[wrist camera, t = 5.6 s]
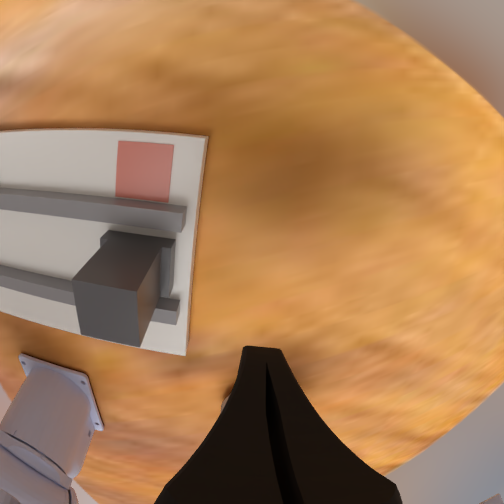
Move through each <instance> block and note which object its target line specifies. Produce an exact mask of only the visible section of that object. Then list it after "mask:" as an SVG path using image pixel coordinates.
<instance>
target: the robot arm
mask: <svg viewBox="0 0 504 504" xmlns="http://www.w3.org/2000/svg"><path fill="white" fill-rule="evenodd" d="M18 357H19V360H20V362H21V365H22V367H23V370H24V372H25V374H26V377H27V378H26V379H25V381H24V383H23V384H22V386H21V388H20V389H19V391H18V393H17V394H16V396H15V398H14V400H13V401H12V403H11V405H10V407H9V409H8V410H7V412H6V414H5V416H4V418H3V420H2V421H1V423H0V504H78V500H77V496H76V493H75V491H74V489H73V488H72V487H70V485H71V482H72V479H73V478H74V477H76V476H77V475H78V474H79V472H80V471H81V469H82V466H83V463H84V460H85V457H86V454H87V451H88V448H89V445H90V442H91V439H92V436H93V433H94V431H95V430H99V431H103V430H104V426H103V423H102V420H101V418H100V415H99V412H98V409H97V406H96V402H95V399H94V396H93V393H92V389H91V386H90V383H89V379H88V377H87V375H86V374H84V373H81V372H77V371H74V370H71V369H67V368H64V367H61V366H57V365H54V364H51V363H48V362H45V361H42V360H39V359H36V358H33V357H31V356H28V355H25V354H22V353H21V354H20V355H19V356H18ZM154 504H402V500H401V496H400V493H399V491H398V489H397V486H396V484H395V483H393V482H391V481H390V480H389V479H387V478H386V477H384V476H382V475H381V474H379V473H378V472H376V471H375V470H374V469H372V468H371V467H370V466H368V465H367V464H366V463H365V462H363V461H362V460H361V459H360V458H359V457H357V456H356V455H355V454H354V453H353V452H352V451H351V450H350V449H349V448H348V447H347V446H346V445H345V444H343V443H342V442H341V440H340V439H339V438H338V437H337V436H336V435H335V434H334V433H333V432H332V431H331V429H330V428H329V427H328V426H327V425H326V424H325V422H324V421H323V420H322V418H321V417H320V416H319V414H318V413H317V412H316V410H315V409H314V407H313V406H312V405H311V403H310V402H309V400H308V399H307V397H306V396H305V394H304V392H303V391H302V389H301V387H300V386H299V384H298V382H297V380H296V379H295V377H294V375H293V373H292V371H291V369H290V367H289V365H288V363H287V361H286V359H285V357H284V355H283V353H282V351H281V350H280V349H277V348H266V347H256V346H245V347H243V350H242V355H241V360H240V365H239V370H238V375H237V379H236V382H235V384H234V387H233V389H232V392H231V394H230V396H229V398H228V400H227V402H226V404H225V406H224V408H223V410H222V412H221V414H220V416H219V417H218V419H217V421H216V422H215V424H214V426H213V427H212V429H211V430H210V432H209V433H208V435H207V436H206V438H205V439H204V441H203V442H202V444H201V445H200V446H199V448H198V449H197V450H196V451H195V453H194V454H193V455H192V456H191V458H190V459H189V460H188V461H187V463H186V464H185V465H184V466H183V467H182V468H181V469H180V470H179V471H178V473H177V474H176V475H175V476H174V477H173V478H172V479H171V480H170V481H169V482H168V483H167V484H166V485H165V487H164V488H163V490H162V492H161V493H160V495H159V496H158V498H157V499H156V501H155V503H154ZM480 504H504V503H503V501H502V498H501V496H500V494H497V495H495V496H493V497H491V498H489V499H487V500H485V501H483V502H481V503H480Z"/></svg>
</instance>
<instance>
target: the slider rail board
mask: <svg viewBox="0 0 504 504" xmlns="http://www.w3.org/2000/svg"><path fill="white" fill-rule="evenodd" d="M208 138H209V136H202V135H193V134H183V133H173V132H161V131H147V130H131V129H108V128H40V129H19V130H4V131H0V311H1V312H4V313H7V314H10V315H13V316H16V317H19V318H23V319H26V320H29V321H32V322H36V323H39V324H42V325H46V326H49V327H53V328H56V329H60V330H64V331H67V332H71V333H75V334H79V335H81V332H80V327H79V322H78V317H77V311H76V305H75V299H74V293H73V286H72V278H73V277H74V276H75V275H76V274H77V273H78V271H79V270H80V269H81V268H82V267H83V266H84V265H85V264H86V263H87V261H88V260H89V259H90V258H91V257H92V256H93V255H94V254H95V253H96V252H97V251H98V250H99V248H100V238H101V237H102V236H103V235H104V234H105V233H106V232H107V231H108V230H112V231H120V232H127V233H134V234H141V235H149V236H156V237H163V238H170V239H176V245H175V261H174V281H173V289H172V291H171V294H170V297H169V298H167V297H160V299H159V301H158V303H157V306H156V308H155V311H154V313H153V316H152V318H151V321H150V323H149V326H148V328H147V331H146V333H145V336H144V339H143V341H142V344H141V346H140V347H137V348H142V349H147V350H153V351H158V352H164V353H170V354H176V355H182V356H186V351H187V346H188V342H189V324H190V309H191V295H192V282H193V270H194V259H195V248H196V237H197V228H198V218H199V209H200V200H201V191H202V183H203V175H204V167H205V160H206V152H207V145H208ZM83 336H85V335H83ZM87 337H89V336H87ZM91 338H93V337H91ZM95 339H97V338H95ZM100 340H102V339H100ZM104 341H106V340H104ZM108 342H111V341H108ZM113 343H115V342H113ZM117 344H120V343H117ZM122 345H125V344H122ZM127 346H130V345H127ZM132 347H135V346H132Z"/></svg>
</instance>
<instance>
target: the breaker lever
mask: <svg viewBox="0 0 504 504" xmlns="http://www.w3.org/2000/svg"><path fill="white" fill-rule="evenodd" d="M175 245H176V239H170V238H163V237H156V236H149V235H141V234H134V233H127V232H120V231H112V230H108V231H107V232H106V233H105V234H104V235H103V236H102V237H101V238H100V248H99V250H98V251H97V252H96V253H95V254H94V255H93V256H92V257H91V258H90V259H89V260H88V261H87V263H86V264H85V265H84V266H83V267H82V268H81V269H80V270H79V271H78V273H77V274H76V275H75V276H74V277H73V278H72V286H73V293H74V299H75V305H76V311H77V317H78V322H79V327H80V332H81V335H85V336H89V337H93V338H97V339H102V340H106V341H111V342H115V343H120V344H125V345H130V346H135V347H140V346H141V344H142V341H143V339H144V336H145V333H146V331H147V328H148V326H149V323H150V321H151V318H152V316H153V313H154V311H155V308H156V306H157V303H158V301H159V299H160V297H167V298H169V297H170V294H171V291H172V289H173V281H174V261H175Z"/></svg>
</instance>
